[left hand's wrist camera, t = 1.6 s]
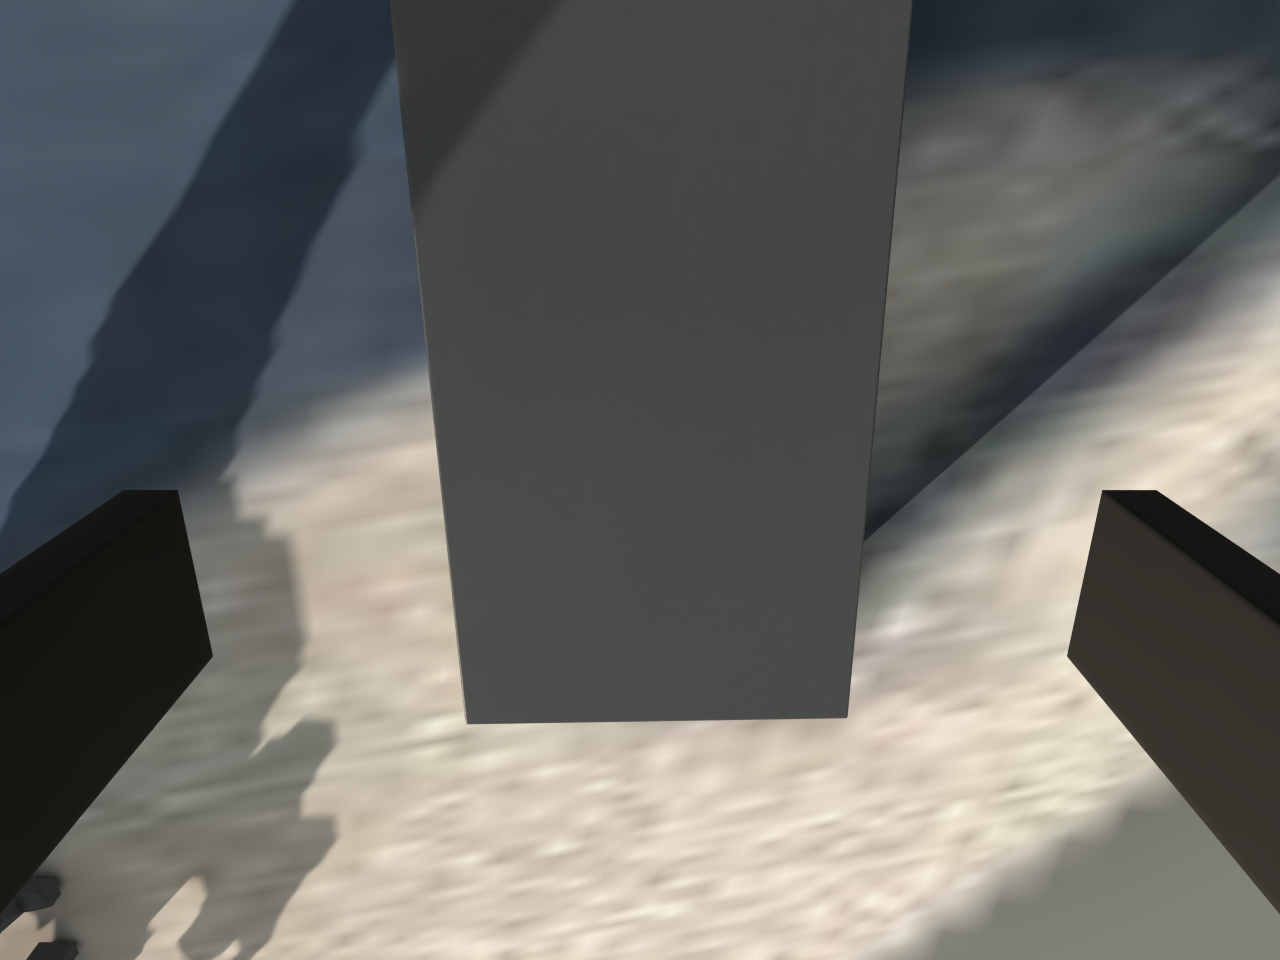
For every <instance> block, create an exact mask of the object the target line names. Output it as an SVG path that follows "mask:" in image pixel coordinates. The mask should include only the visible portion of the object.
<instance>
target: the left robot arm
mask: <svg viewBox="0 0 1280 960" xmlns="http://www.w3.org/2000/svg"><path fill="white" fill-rule="evenodd" d="M212 657H213V654H212V649H211V645H210V640H209V635H208V631H207V626H206V621H205V617H204V612H203V607H202V602H201V598H200V593H199V588H198V584H197V579H196V574H195V569H194V565H193V560H192V555H191V551H190V546H189V541H188V537H187V532H186V527H185V522H184V518H183V513H182V508H181V504H180V499H179V494H178V490H123V491H122V492H120V493H119V494H117V495H116V496H114V497H113V498H111V499H110V500H109V501H107V502H106V503H104V504H103V505H101V506H100V507H98V508H97V509H95V510H94V511H92V512H91V513H89V514H88V515H87V516H85V517H84V518H82V519H81V520H79V521H78V522H76V523H75V524H73V525H72V526H70V527H69V528H67V529H66V530H64V531H63V532H62V533H60V534H59V535H57V536H56V537H54V538H53V539H51V540H50V541H48V542H47V543H45V544H44V545H42V546H41V547H39V548H38V549H37V550H35V551H34V552H32V553H31V554H29V555H28V556H26V557H25V558H23V559H22V560H20V561H19V562H17V563H16V564H14V565H13V566H12V567H10V568H9V569H7V570H6V571H4V572H3V573H1V574H0V914H1V912H2V911H3V910H4V909H5V908H6V906H7V905H8V904H9V903H10V902H11V900H12V899H13V898H14V897H15V895H16V894H17V893H18V892H19V891H20V889H21V888H22V887H23V886H24V885H25V883H26V882H27V881H28V880H29V879H30V877H31V876H32V875H33V874H34V872H35V871H36V870H37V869H38V868H39V866H40V865H41V864H42V863H43V862H44V860H45V859H46V858H47V857H48V856H49V854H50V853H51V852H52V851H53V849H54V848H55V847H56V846H57V845H58V843H59V842H60V841H61V840H62V839H63V837H64V836H65V835H66V834H67V832H68V831H69V830H70V829H71V828H72V826H73V825H74V824H75V823H76V822H77V820H78V819H79V818H80V817H81V816H82V814H83V813H84V812H85V811H86V809H87V808H88V807H89V806H90V805H91V803H92V802H93V801H94V800H95V799H96V797H97V796H98V795H99V794H100V793H101V791H102V790H103V789H104V788H105V786H106V785H107V784H108V783H109V782H110V780H111V779H112V778H113V777H114V776H115V774H116V773H117V772H118V771H119V769H120V768H121V767H122V766H123V765H124V763H125V762H126V761H127V760H128V759H129V757H130V756H131V755H132V754H133V753H134V751H135V750H136V749H137V748H138V746H139V745H140V744H141V743H142V742H143V740H144V739H145V738H146V737H147V736H148V734H149V733H150V732H151V731H152V730H153V728H154V727H155V726H156V725H157V723H158V722H159V721H160V720H161V719H162V717H163V716H164V715H165V714H166V713H167V711H168V710H169V709H170V708H171V707H172V705H173V704H174V703H175V702H176V700H177V699H178V698H179V697H180V696H181V694H182V693H183V692H184V691H185V690H186V688H187V687H188V686H189V685H190V683H191V682H192V681H193V680H194V679H195V677H196V676H197V675H198V674H199V673H200V671H201V670H202V669H203V668H204V667H205V665H206V664H207V663H208V662H209V660H210V659H211V658H212ZM1067 657H1068V658H1069V659H1070V660H1071V662H1072V663H1073V664H1074V665H1075V667H1076V668H1077V669H1078V670H1079V671H1080V673H1081V674H1082V675H1083V676H1084V677H1085V679H1086V680H1087V681H1088V682H1089V683H1090V685H1091V686H1092V687H1093V688H1094V690H1095V691H1096V692H1097V693H1098V694H1099V696H1100V697H1101V698H1102V699H1103V700H1104V702H1105V703H1106V704H1107V705H1108V707H1109V708H1110V709H1111V710H1112V711H1113V713H1114V714H1115V715H1116V716H1117V717H1118V719H1119V720H1120V721H1121V722H1122V723H1123V725H1124V726H1125V727H1126V728H1127V730H1128V731H1129V732H1130V733H1131V734H1132V736H1133V737H1134V738H1135V739H1136V740H1137V742H1138V743H1139V744H1140V745H1141V746H1142V748H1143V749H1144V750H1145V751H1146V753H1147V754H1148V755H1149V756H1150V757H1151V759H1152V760H1153V761H1154V762H1155V763H1156V765H1157V766H1158V767H1159V768H1160V770H1161V771H1162V772H1163V773H1164V774H1165V776H1166V777H1167V778H1168V779H1169V780H1170V782H1171V783H1172V784H1173V785H1174V786H1175V788H1176V789H1177V790H1178V791H1179V792H1180V794H1181V795H1182V796H1183V797H1184V799H1185V800H1186V801H1187V802H1188V803H1189V805H1190V806H1191V807H1192V808H1193V809H1194V811H1195V812H1196V813H1197V814H1198V816H1199V817H1200V818H1201V819H1202V820H1203V822H1204V823H1205V824H1206V825H1207V826H1208V828H1209V829H1210V830H1211V831H1212V832H1213V834H1214V835H1215V836H1216V837H1217V839H1218V840H1219V841H1220V842H1221V843H1222V845H1223V846H1224V847H1225V848H1226V849H1227V851H1228V852H1229V853H1230V854H1231V855H1232V857H1233V858H1234V859H1235V860H1236V862H1237V863H1238V864H1239V865H1240V866H1241V868H1242V869H1243V870H1244V871H1245V872H1246V874H1247V875H1248V876H1249V877H1250V879H1251V880H1252V881H1253V882H1254V883H1255V885H1256V886H1257V887H1258V888H1259V889H1260V891H1261V892H1262V893H1263V894H1264V895H1265V897H1266V898H1267V899H1268V900H1269V902H1270V903H1271V904H1272V905H1273V906H1274V908H1275V909H1276V910H1277V911H1278V912H1279V914H1280V574H1279V573H1277V572H1276V571H1274V570H1273V569H1271V568H1270V567H1268V566H1267V565H1266V564H1264V563H1263V562H1261V561H1260V560H1258V559H1257V558H1255V557H1254V556H1252V555H1251V554H1249V553H1248V552H1246V551H1245V550H1243V549H1242V548H1241V547H1239V546H1238V545H1236V544H1235V543H1233V542H1232V541H1230V540H1229V539H1227V538H1226V537H1224V536H1223V535H1221V534H1220V533H1218V532H1217V531H1216V530H1214V529H1213V528H1211V527H1210V526H1208V525H1207V524H1205V523H1204V522H1202V521H1201V520H1199V519H1198V518H1196V517H1195V516H1193V515H1192V514H1191V513H1189V512H1188V511H1186V510H1185V509H1183V508H1182V507H1180V506H1179V505H1177V504H1176V503H1174V502H1173V501H1171V500H1170V499H1169V498H1167V497H1166V496H1164V495H1163V494H1161V493H1160V492H1158V491H1157V490H1102V494H1101V499H1100V504H1099V508H1098V513H1097V518H1096V522H1095V527H1094V532H1093V537H1092V541H1091V546H1090V551H1089V555H1088V560H1087V565H1086V569H1085V574H1084V579H1083V584H1082V588H1081V593H1080V598H1079V602H1078V607H1077V612H1076V617H1075V621H1074V626H1073V631H1072V635H1071V640H1070V645H1069V649H1068V654H1067Z"/></svg>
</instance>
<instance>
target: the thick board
mask: <svg viewBox="0 0 1280 960" xmlns="http://www.w3.org/2000/svg"><path fill="white" fill-rule="evenodd" d="M389 2H390V11H391V21H392V30H393V40H394V49H395V58H396V68H397V77H398V87H399V96H400V106H401V115H402V125H403V134H404V144H405V153H406V163H407V172H408V182H409V191H410V200H411V210H412V219H413V229H414V238H415V248H416V257H417V267H418V276H419V286H420V295H421V305H422V314H423V324H424V333H425V342H426V352H427V361H428V371H429V380H430V390H431V399H432V409H433V418H434V428H435V437H436V447H437V456H438V466H439V475H440V484H441V494H442V503H443V513H444V522H445V532H446V541H447V551H448V560H449V570H450V579H451V589H452V598H453V608H454V617H455V626H456V636H457V645H458V655H459V664H460V674H461V683H462V693H463V702H464V712H465V721H466V724H515V723H577V722H638V721H700V720H762V719H824V718H847V716H848V706H849V695H850V684H851V673H852V662H853V651H854V641H855V630H856V619H857V608H858V597H859V586H860V575H861V564H862V554H863V543H864V532H865V521H866V510H867V499H868V488H869V477H870V467H871V456H872V445H873V434H874V423H875V412H876V401H877V391H878V380H879V369H880V358H881V347H882V336H883V325H884V314H885V304H886V293H887V282H888V271H889V260H890V249H891V238H892V228H893V217H894V206H895V195H896V184H897V173H898V162H899V151H900V141H901V130H902V119H903V108H904V97H905V86H906V75H907V64H908V54H909V43H910V32H911V21H912V10H913V0H389Z"/></svg>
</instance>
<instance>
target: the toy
mask: <svg viewBox="0 0 1280 960" xmlns="http://www.w3.org/2000/svg"><path fill="white" fill-rule="evenodd" d="M60 894H61V893H60V890H59V887H58V883H57V880H56V877H30V879H29V880H28V881H27V882H26V883H25V885H24V886H23V887H22V888H21V889H20V891H19V892H18V893H17V894H16V895H15V897H14V898H13V899H12V900H11V902H10V903H9V904H8V905H7V906H6V908H5V909H4V910H3V911H2V912H1V914H0V933H1V932H2V931H3V930H4V929H5V928H6V927H8V926H9V925H10V924H11V923H12V922H13V921H15V920H16V919H17V918H18V917H19V916H20V915H22V914H23V913H24V912H29V911H34V910H40V909H44V908H47V907H51V906H52V905H53V904H54V902H55V901H56V900H57V898H58V897H59V896H60ZM77 954H78V950H77V946H76V943H66V942H39V943H38V945H37V946H36V947H35V949H34V950H33V951H32V953H31V954H30V955H29V957H28V958H27V959H26V960H74V959H75V957H76V956H77Z"/></svg>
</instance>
